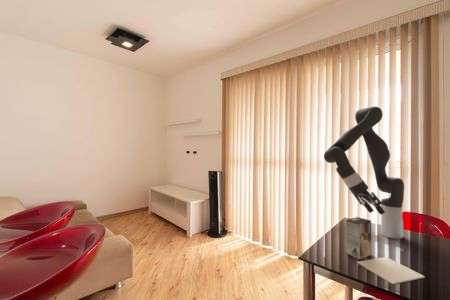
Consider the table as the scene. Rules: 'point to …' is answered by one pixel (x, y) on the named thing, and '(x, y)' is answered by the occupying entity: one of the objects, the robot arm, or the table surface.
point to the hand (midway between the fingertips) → (376, 212)
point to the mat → (390, 270)
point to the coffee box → (358, 237)
